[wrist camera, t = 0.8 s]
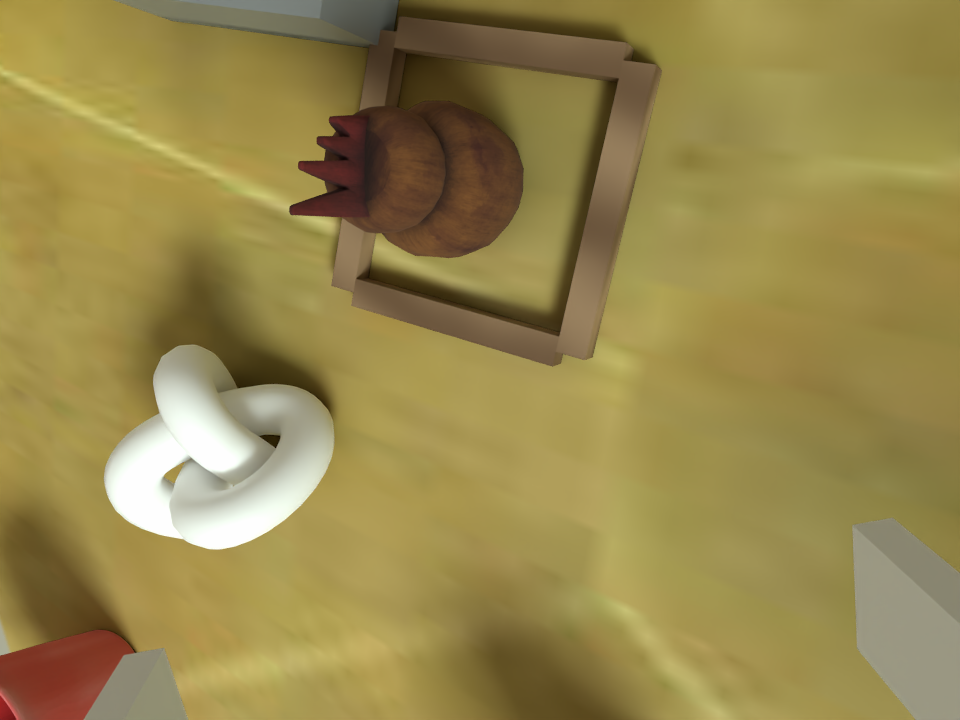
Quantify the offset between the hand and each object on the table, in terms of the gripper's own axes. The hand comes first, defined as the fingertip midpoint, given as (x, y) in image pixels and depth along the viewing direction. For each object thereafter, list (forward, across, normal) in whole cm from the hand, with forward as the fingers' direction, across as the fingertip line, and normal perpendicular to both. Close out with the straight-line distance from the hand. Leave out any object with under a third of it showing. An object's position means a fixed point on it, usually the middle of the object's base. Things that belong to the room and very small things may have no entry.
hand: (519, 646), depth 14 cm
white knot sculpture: (+32, -12, -6) cm, 35 cm away
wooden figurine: (+27, +2, +7) cm, 28 cm away
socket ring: (+27, +2, +7) cm, 28 cm away
